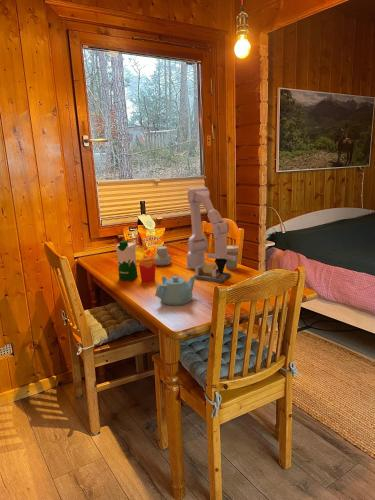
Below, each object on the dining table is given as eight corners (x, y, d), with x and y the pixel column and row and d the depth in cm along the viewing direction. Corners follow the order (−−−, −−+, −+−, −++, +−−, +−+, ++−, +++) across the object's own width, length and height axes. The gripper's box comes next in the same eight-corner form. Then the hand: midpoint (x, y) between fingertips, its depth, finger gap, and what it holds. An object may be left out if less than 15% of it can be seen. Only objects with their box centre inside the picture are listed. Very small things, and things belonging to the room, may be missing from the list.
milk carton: (116, 280, 186) (113, 242, 181) (125, 275, 194) (122, 238, 189) (132, 281, 183) (129, 243, 178) (140, 276, 191) (137, 238, 186)
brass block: (203, 275, 185) (202, 263, 184) (206, 273, 188) (205, 262, 187) (213, 276, 182) (213, 265, 181) (216, 274, 185) (216, 263, 184)
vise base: (192, 278, 184) (192, 268, 183) (202, 272, 193) (202, 262, 192) (222, 283, 177) (221, 272, 175) (230, 276, 186) (230, 265, 184)
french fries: (141, 283, 180) (139, 259, 177) (139, 280, 184) (138, 257, 181) (158, 280, 183) (156, 257, 180) (155, 278, 187) (154, 255, 184)
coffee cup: (238, 270, 194) (238, 249, 191) (222, 270, 196) (222, 248, 192) (239, 266, 202) (239, 245, 199) (224, 265, 204) (224, 244, 201)
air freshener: (167, 267, 205) (167, 250, 202) (153, 267, 206) (152, 249, 204) (172, 261, 215) (171, 245, 213) (158, 261, 217) (157, 245, 214)
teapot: (163, 293, 166) (162, 270, 164) (196, 294, 164) (195, 271, 161) (155, 306, 152) (153, 282, 149) (190, 308, 149) (189, 283, 147)
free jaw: (212, 277, 181) (211, 269, 180) (218, 272, 187) (218, 265, 186) (215, 277, 180) (215, 270, 179) (222, 273, 186) (222, 265, 185)
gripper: (203, 247, 178) (204, 273, 182) (231, 249, 172) (231, 277, 175) (210, 243, 184) (210, 269, 188) (237, 246, 177) (237, 273, 181)
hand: (221, 273), depth 182 cm, fingers closed
